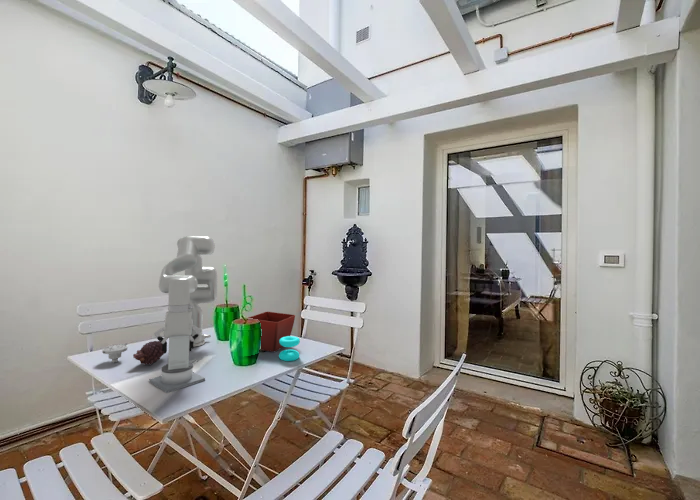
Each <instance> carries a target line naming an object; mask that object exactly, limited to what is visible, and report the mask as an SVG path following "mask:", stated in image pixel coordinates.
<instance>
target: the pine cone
mask: <svg viewBox="0 0 700 500" xmlns="http://www.w3.org/2000/svg"><path fill="white" fill-rule="evenodd" d="M164 355H165V354H164V351H162V343H161V342H160V341H159V340H154V341H149V342H147V343H145V344H143V345H142V346H141V349H138V350H137V351H136V353H133V355H132V356H133V359H135V360H136V361H139V363H140V364H141V365H145V366H146V365H149V366H150V365H152V364H154V363H157V362H158V360H160V359H161V357H162V356H164Z"/></svg>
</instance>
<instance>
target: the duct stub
mask: <svg viewBox="0 0 700 500" xmlns="http://www.w3.org/2000/svg"><path fill="white" fill-rule="evenodd" d="M193 367H194V363H193V362H191V361H189V367H188V368H182V369H173V370H168V363H166V364H164V365H163V366H162V367H161V375H159V376H156V377H152V378H149V379H148V381H149V383H151V384H152V385H154V386H155V387H157V388H159V389H160V390H162V391H163V392H164V393H167V394H169V393H171V392H174V391H176V390H180V389H183V388H186V387H188V386H192V385H195V384H199V383H201V382H204V381H206V377H204V376H202V375H200V374H198V373H196V372H195V371H194V369H193Z"/></svg>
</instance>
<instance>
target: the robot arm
mask: <svg viewBox="0 0 700 500" xmlns="http://www.w3.org/2000/svg"><path fill="white" fill-rule="evenodd" d="M215 244H216V243H215V241H214V239H213V238H212V237H210V236H201V235H200V236H199V235H187V236H183V237H182V238H181V237H180V238H178V240H177V243H176V245H177V254H176V257H175V258H173V259H172V260H171V261H169V262H167V264H165V266H163V267H162V269H161V273H160V276H159V281H158V288H159V291H160V292H161V293H163V294H168V303H167V304H168V306H167V307H168V311H166V313H165V317H164V324H163V326H162V327H161V328H160V329H158V330H156V331H155V332H153V335H154V336H155V338H156V340H157V341H160V342H161V343H162V351H164V355H165V354H167V353H168V352H167V351H168V342H167V341H168V340H169V337H174V336H189V352H192V349H194V348H195V347H200V346H203V345H205V343H206V339H209V338H211V334H210V333H207V334H203V317H204V316H203V314H204V311H203V309H202V307H201V306H200V305H199V304H213V303H216V301H217V298H218V274H217V273H218V272H217V269H216V268H215V267H212V266H203V257H202V255H203V256H204V255H206V256H209V255H210V256H211V255H213V253H214V252H215V248H216V245H215ZM181 272H184V274H183V275H182V274H177V273H181ZM161 333H163V337H162V335H161Z"/></svg>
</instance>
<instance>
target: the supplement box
mask: <svg viewBox="0 0 700 500" xmlns="http://www.w3.org/2000/svg"><path fill="white" fill-rule="evenodd" d="M167 353H168V356H167V357H168V358H167V359H168V360H167V364H168V370H173V369H182V368H188V367H189V362H190V361H189V360H190V351H189V336H174V337H169V338H168V352H167Z"/></svg>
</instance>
